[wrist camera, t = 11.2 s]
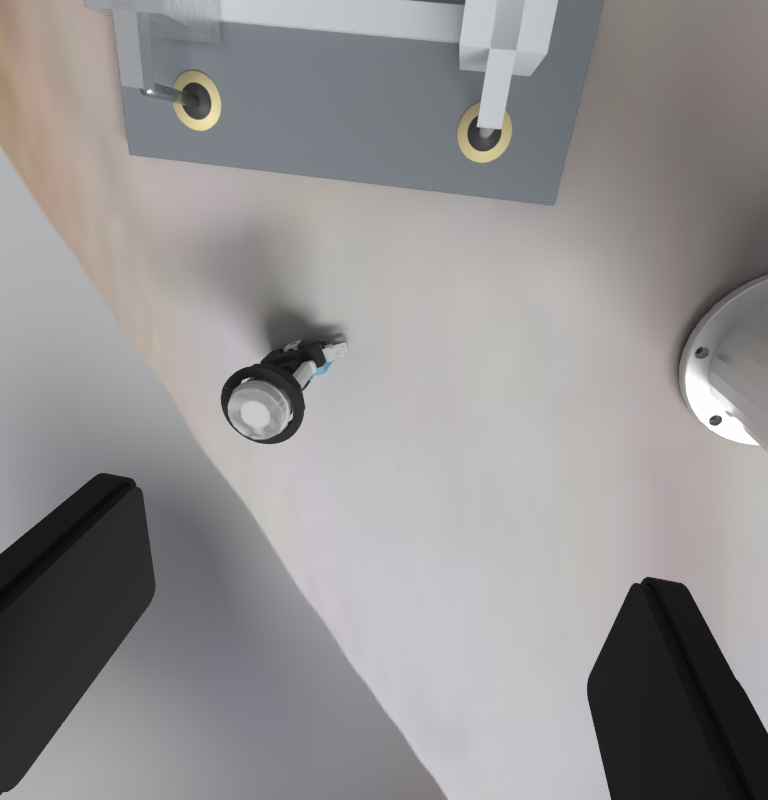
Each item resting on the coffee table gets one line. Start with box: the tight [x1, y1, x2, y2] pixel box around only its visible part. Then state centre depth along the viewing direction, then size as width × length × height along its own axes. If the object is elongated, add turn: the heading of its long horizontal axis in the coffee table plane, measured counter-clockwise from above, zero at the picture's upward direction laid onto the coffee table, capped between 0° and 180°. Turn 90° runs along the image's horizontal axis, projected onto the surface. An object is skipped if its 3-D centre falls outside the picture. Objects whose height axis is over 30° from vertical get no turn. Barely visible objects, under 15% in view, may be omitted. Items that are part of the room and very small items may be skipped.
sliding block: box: [84, 0, 221, 107], centre depth 26 cm, size 4×7×6 cm, turn 174°
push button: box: [221, 340, 349, 444], centre depth 34 cm, size 7×5×10 cm
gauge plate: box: [113, 0, 604, 206], centre depth 26 cm, size 28×12×8 cm, turn 84°
